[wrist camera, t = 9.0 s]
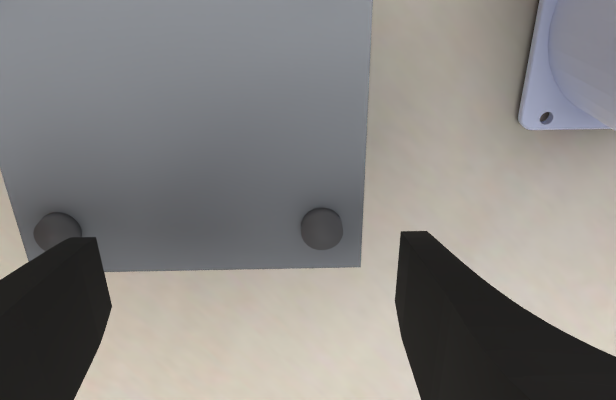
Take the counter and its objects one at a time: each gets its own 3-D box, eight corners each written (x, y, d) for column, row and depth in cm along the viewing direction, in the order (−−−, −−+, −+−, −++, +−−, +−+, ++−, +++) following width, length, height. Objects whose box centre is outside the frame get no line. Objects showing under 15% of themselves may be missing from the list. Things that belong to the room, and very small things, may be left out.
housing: (342, 172, 22) (361, 274, 16) (106, 176, 22) (26, 281, 15) (348, -98, 18) (380, -113, 11) (50, -95, 17) (-97, -110, 11)
